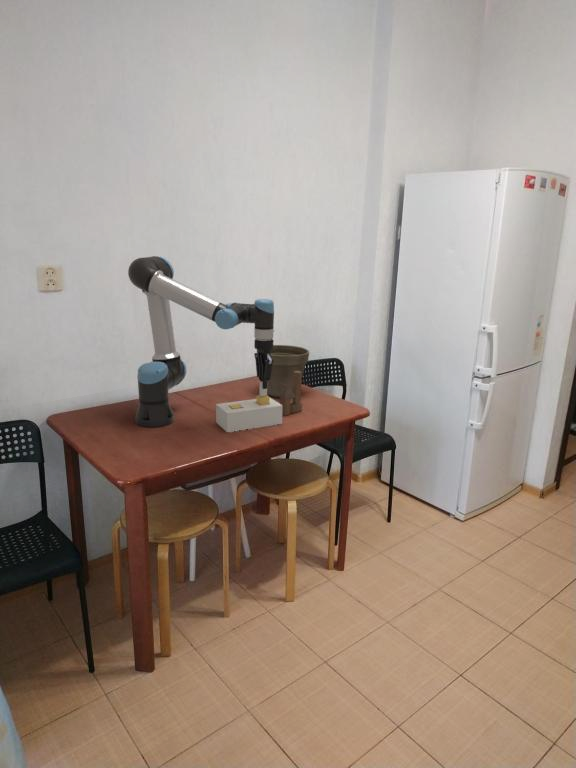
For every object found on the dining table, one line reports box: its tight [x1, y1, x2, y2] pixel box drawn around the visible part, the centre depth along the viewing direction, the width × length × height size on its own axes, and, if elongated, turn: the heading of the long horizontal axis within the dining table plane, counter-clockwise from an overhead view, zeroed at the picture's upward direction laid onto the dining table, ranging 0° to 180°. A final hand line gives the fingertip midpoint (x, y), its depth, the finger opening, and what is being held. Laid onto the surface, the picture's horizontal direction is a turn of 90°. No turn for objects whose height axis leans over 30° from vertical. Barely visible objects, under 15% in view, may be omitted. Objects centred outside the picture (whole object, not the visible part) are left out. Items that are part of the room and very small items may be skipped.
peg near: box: [229, 404, 242, 409], centre depth 215 cm, size 4×4×8 cm
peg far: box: [255, 394, 270, 405], centre depth 220 cm, size 4×4×8 cm
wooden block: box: [278, 371, 303, 417], centre depth 231 cm, size 4×11×18 cm, turn 135°
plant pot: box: [267, 344, 310, 398], centre depth 257 cm, size 25×25×22 cm
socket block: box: [215, 396, 283, 434], centre depth 218 cm, size 24×12×8 cm, turn 118°
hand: (263, 395), depth 219 cm, fingers closed
